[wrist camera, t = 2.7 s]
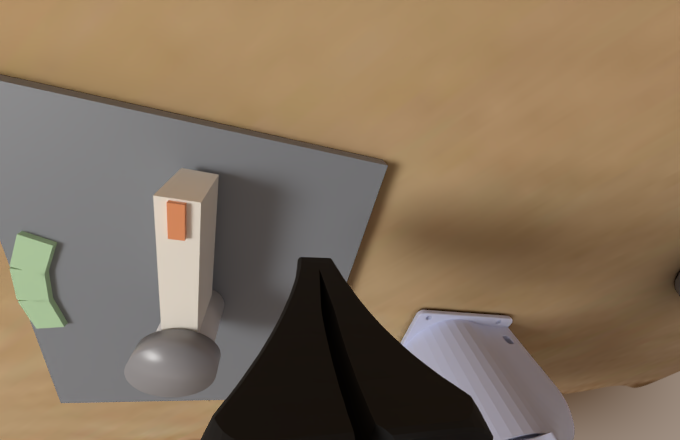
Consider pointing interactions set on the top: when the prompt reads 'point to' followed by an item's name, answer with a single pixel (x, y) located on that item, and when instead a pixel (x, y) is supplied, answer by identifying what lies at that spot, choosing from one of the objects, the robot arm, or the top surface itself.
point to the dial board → (139, 227)
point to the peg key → (182, 292)
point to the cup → (677, 284)
